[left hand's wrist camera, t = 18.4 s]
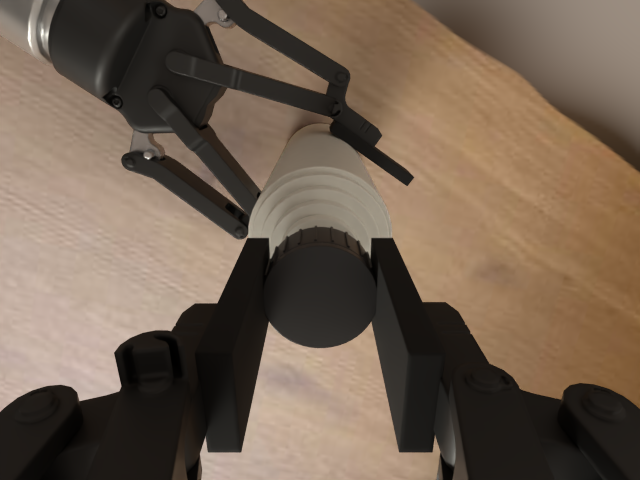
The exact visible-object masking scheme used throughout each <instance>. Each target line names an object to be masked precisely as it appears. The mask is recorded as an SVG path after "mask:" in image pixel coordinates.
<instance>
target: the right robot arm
mask: <svg viewBox="0 0 640 480" xmlns="http://www.w3.org/2000/svg"><path fill="white" fill-rule="evenodd" d="M212 24H219V25H220V26H222V27H224V28H226V29H231V28H233V27H235V26H236V25H238V26H239V27H240V28H242V29H243V30H245V31H246V32H248V33H249V34H251V35H252V36H254V37H255V38H257V39H259V40H260V41H262V42H264V43H265V44H267V45H269V46H270V47H272V48H274V49H275V50H277V51H279V52H280V53H282V54H283V55H285V56H287V57H288V58H290V59H292V60H293V61H295V62H297V63H298V64H300V65H302V66H303V67H305V68H307V69H308V70H310V71H311V72H313V73H315V74H316V75H318V76H320V77H321V78H323V79H325V80H326V81H328V82H329V85H328V89H327V93H326V94H322V93H319V92H316V91H312V90H309V89H306V88H302V87H299V86H296V85H292V84H289V83H285V82H282V81H279V80H275V79H272V78H269V77H265V76H262V75H259V74H255V73H252V72H249V71H246V70H242V69H239V68H236V67H232V66H229V65H226V64H224V63H223V61H222V58H221V56H220V54H219V51H218V49H217V46H216V44H215V41H214V39H213V36H212V34H211V31H210V29H209V26H210V25H212ZM0 35H1V36H2V37H4V38H5V39H7V40H8V41H10V42H11V43H13V44H14V45H16V46H17V47H19V48H21V49H22V50H24V51H25V52H27V53H28V54H30V55H31V56H33V57H34V58H36V59H37V60H39V61H41V62H42V63H44V64H46V65H51V66H54V68H55V69H56V71H57V72H58V73H60V74H61V75H63V76H64V77H66V78H67V79H69V80H70V81H72V82H74V83H75V84H77V85H78V86H80V87H81V88H83V89H84V90H86V91H88V92H89V93H91V94H92V95H94V96H95V97H97V98H98V99H100V100H102V101H103V102H105V103H106V104H108V105H110V106H111V107H113V108H115V109H116V110H118V111H119V112H120V113H121V114H122V115H123V116H124V117H125V119H126V120H127V122H128V124H129V125H130V126H131V127H132V128H133V129H134V131H133V136H132V142H131V147H130V152H129V153H126V154H124V155H123V157H122V165H123V166H124V167H125V168H126V169H127V170H129V171H132V172H135V173H138V174H141V175H144V176H147V177H150V178H153V179H155V180H156V181H157V182H159V183H160V184H162V185H163V186H164V187H166V188H167V189H168V190H170V191H171V192H173V193H174V194H175V195H177V196H178V197H179V198H181V199H182V200H184V201H185V202H186V203H188V204H189V205H190V206H192V207H193V208H195V209H196V210H197V211H199V212H200V213H201V214H203V215H204V216H206V217H207V218H208V219H210V220H211V221H212V222H214V223H215V224H217V225H218V226H219V227H221V228H222V229H223V230H225V231H226V232H228V233H229V234H230V235H232V236H233V237H234V238H236V239H244V238H245V237H246V236H247V235H248V226H249V221H250V216H251V213H252V210H253V208H254V206H255V204H256V202H257V200H258V198H259V196H260V194H261V190H260V189H259V188H258V187H257V186H256V184H255V183H254V182H253V181H252V179H251V178H250V177H249V176H248V175H247V173H246V172H245V171H244V170H243V168H242V167H241V166H240V165H239V164H238V162H237V161H236V160H235V159H234V157H233V156H232V155H231V154H230V153H229V151H228V150H227V149H226V148H225V146H224V145H223V144H222V143H221V142H220V140H219V139H218V138H217V136H216V133H215V132H214V130H213V129H212V128H211V126H210V125H209V124H208V121H209V119H210V117H211V116H212V112H213V108H214V104H215V103H216V102H217V101H218V100H219V99H220V98H221V97H222V96H223V94H224V93H225V91H226V89H227V88H231V89H235V90H239V91H243V92H246V93H250V94H253V95H256V96H260V97H263V98H267V99H270V100H273V101H277V102H280V103H284V104H287V105H291V106H294V107H297V108H301V109H304V110H308V111H311V112H315V113H318V114H321V115H325V116H328V117H330V118H332V119H333V122H332V123H331V125H330V126H329V129H330V132H332V133H333V134H334V135H336V136H337V137H339V138H340V139H341V140H343V141H344V142H346V143H347V144H349V145H350V146H351V147H353V148H354V149H356V150H357V151H358V152H360V153H361V154H363V155H364V156H365V157H367V158H368V159H370V160H371V161H372V162H374V163H375V164H377V165H378V166H379V167H381V168H382V169H384V170H385V171H387V172H388V173H389V174H391V175H392V176H394V177H395V178H396V179H398V180H399V181H401V182H402V183H403V184H405V185H406V186H408V185H409V183H410V182H411V181H412V179H413V178H414V177H413V176H412V175H411V174H410V173H409V172H408V171H407V170H406V169H405V168H404V167H402V166H401V165H400V164H398V163H397V162H395V161H394V160H393V159H391V158H390V157H388V156H387V155H386V154H384V153H383V152H381V151H380V150H379V149H377V148H376V147H375V145H376V144H377V142H378V141H379V139H380V138H381V137H382V135H381V133H380V131H379V130H378V128H376V127H375V126H374V125H372V124H371V123H370V122H368V121H367V120H366V119H364V118H363V117H362V116H360V115H359V114H357V113H356V112H355V111H353V110H352V109H351V108H349V107H348V106H347V104H346V101H345V95H346V91H347V87H348V83H349V81H350V73H349V71H348V70H347V69H346V68H345V67H343V66H341V65H340V64H338V63H337V62H335V61H333V60H332V59H330V58H328V57H327V56H325V55H324V54H322V53H320V52H319V51H317V50H316V49H314V48H312V47H311V46H309V45H308V44H306V43H304V42H303V41H301V40H299V39H298V38H296V37H295V36H293V35H291V34H290V33H288V32H287V31H285V30H283V29H282V28H280V27H278V26H277V25H275V24H274V23H272V22H270V21H269V20H267V19H266V18H264V17H262V16H261V15H259V14H257V13H256V12H254V11H253V10H251V9H249V8H248V6H247V5H246V4H245V3H244V1H243V0H204V1H203V2H202V3H201V4H200V5H199V6H198V7H197V8H196V9H195V10H194V11H191V10H188V9H180V8H176V7H174V6H172V5H171V4H169V3H168V2H166V1H165V0H0ZM153 133H176V134H177V136H178V137H179V138H180V139H181V140H182V142H183V143H184V144H185V145H186V146H187V147H188V148H189V149H190V150H191V151H193V152H195V153H196V154H197V155H198V157H199V158H200V159H201V160H202V161H203V162H204V164H205V165H206V166H207V167H208V168H209V170H210V171H211V172H212V173H213V174H214V175H215V177H216V178H217V179H218V180H219V181H220V183H221V184H222V185H223V186H224V187H225V188H226V190H227V191H228V192H229V193H230V194H231V195H232V197H233V198H234V199H235V200H236V201H237V203H238V204H239V205H240V206H241V207H242V208H243V210H244V211H243V210H242V209H241V208H239V207H238V206H237V205H235V204H234V203H233V202H231V201H230V200H229V199H227V198H226V197H225V196H223V195H222V194H221V193H219V192H218V191H217V190H215V189H214V188H213V187H211V186H210V185H209V184H207V183H206V182H205V181H203V180H202V179H201V178H199V177H198V176H197V175H195V174H194V173H193V172H191V171H190V170H189V169H187V168H186V167H185V166H183V165H182V164H181V163H179V162H178V161H176V160H175V159H173V158H171V157H169V156H167V155H165V150H164V148H163V147H162V146H161V145H160V144H158V143H157V142H156V141H155V140H154V137H153Z"/></svg>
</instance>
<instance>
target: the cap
mask: <svg viewBox="0 0 640 480" xmlns="http://www.w3.org/2000/svg"><path fill="white" fill-rule="evenodd" d="M372 269H373V267H372V263H371V260H370V256H369V253H368V251H367V252H366V251H365V249H364V248H363V247H362V245H361V244H360V241H359V240H358V241H357V240H356V239H354V238H353V237H352V236H350V235H349V234H348V232H343V231H340V230H337V229H334V228H333V227H330V228H329V227H317V226H315V227H312V228H307V229H303V230H302V229H299V231H298V232H295V233H294V234H292V235H290V236H289V237H288V236H286V238H285V240H284V241H283V242H282V243H280V245H279V246H276V247H275V250H274V253H273V255H272V258H271V259H270V258H269V261H268V265H267V268H266V272H265V277H266V278H265V282H264V286H263V293H264V310H265V314H266V316H267V318H268V320H269V322H270V323H271V325H272V326H273V327H274V328H275V329H276V330H277V332H278V333H280V334H281V335H282V336H283V337H285V338H287V339H288V340H290V341H292V342H294V343H296V344H299V345H302V346H306V347H312V348H328V347H334V346H338V345H341V344H344V343H346V342H348V341H350V340H352V339H354V338H355V337H357V336H358V335H359V334H361V333H362V332H363V331H364V330H365V329H366V328H367V327H368V325H369V324H370V322H371V321H372V319H373V317H374V315H375V312H376V299H377V284H376V280H375V277H374V273H373V270H372Z"/></svg>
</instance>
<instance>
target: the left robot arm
mask: <svg viewBox="0 0 640 480" xmlns="http://www.w3.org/2000/svg"><path fill="white" fill-rule="evenodd" d="M269 258H270V247H269V238H247V240H246V243H245V245H244V247H243V249H242V251H241V253H240V256H239V258H238V260H237V262H236V264H235V266H234V269H233V271H232V273H231V275H230V277H229V280H228V282H227V284H226V286H225V288H224V290H223V293H222V295H221V297H220V299H219V301H218V303H217V304H194V305H192V306H191V307H190V308H188V309H187V310H186V311H184V312H183V313H182V314H181V316H180V318H179V319H178V321H177V323H176V326H174V328H173V329H172V331H157V330H156V331H151V332H146V333H142V334H139V335H137V336H134V337H132V338H130V339H128V340H127V341H125V342H124V343H122V344H121V345H120V346H119V347H118V349H117V350H116V351H115V352H114V354H115V359H116V363H117V368H118V372H119V377H120V381H121V386H122V387H121V389H120V391H119V392H116V393H113V394H110V395H106V396H101V397H97V398H93V399H88V400H84V401H79V398H78V394H77V392H76V391H75V390H74V389H73V388H72V387H68V386H64V385H54V386H46V387H43V388H39V389H36V390H33V391H31V392H29V393H27V394H25V395H23V396H21V397H19V398H17V399H16V400H14V401H13V402H12V403H10V404H9V405H8V406H6V407H5V408H4V409H3V410H2V411H1V412H0V480H201V475H202V466H201V459H200V451H201V448H202V445H203V442H204V439H205V436H206V442H207V449H208V452H241V451H242V446H243V441H244V436H245V432H246V427H247V422H248V417H249V413H250V408H251V403H252V399H253V394H254V389H255V384H256V380H257V375H258V370H259V366H260V361H261V356H262V351H263V347H264V342H265V337H266V333H267V328H268V323H269V320H268V318H267V316H266V314H265V310H264V293H263V286H264V282H265V278H266V277H265V272H266V268H267V265H268V261H269ZM370 260H371V263H372V267H373V269H372V270H373V273H374V277H375V280H376V284H377V299H376V312H375V315H374V317H373V319H372V326H373V331H374V336H375V340H376V345H377V350H378V354H379V359H380V364H381V369H382V373H383V378H384V383H385V387H386V392H387V397H388V402H389V406H390V411H391V416H392V420H393V425H394V430H395V435H396V439H397V444H398V449H399V452H433V444H434V437H435V436H436V439H437V442H438V445H439V448H440V451H441V453H440V459H439V466H438V473H437V480H640V409H639V408H638V407H637V406H636V405H634V404H633V403H632V402H630V401H629V400H628V399H626V398H625V397H624V396H622V395H620V394H618V393H616V392H614V391H612V390H610V389H607V388H604V387H601V386H597V385H594V384H583V383H579V384H574V385H570V386H569V387H568V388H566V389H565V390H564V393H563V396H562V400H560V399H555V398H551V397H546V396H542V395H537V394H533V393H530V392H526V391H523V390H521V389H519V386H518V385H517V383H516V382H515V380H514V379H513V377H512V376H510V375H509V374H508V373H506V372H505V371H504V370H502V369H500V368H498V367H496V366H493V365H491V364H489V362H488V361H487V359H486V357H485V356H484V354H483V352H482V351H481V349H480V347H479V346H478V344H477V342H476V341H475V339H474V337H473V335H472V334H470V330H469V329H468V327H467V325H465V322H464V320H463V319H462V317H461V315H460V314H459V312H458V311H457V310H455V309H454V308H453V307H451V306H450V305H449V304H447V303H446V302H422V300H421V298H420V296H419V294H418V292H417V290H416V287H415V285H414V283H413V281H412V279H411V276H410V274H409V272H408V270H407V268H406V266H405V263H404V261H403V259H402V257H401V255H400V253H399V250H398V248H397V246H396V244H395V242H394V240H393V238H371V255H370Z"/></svg>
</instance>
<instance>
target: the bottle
mask: <svg viewBox="0 0 640 480" xmlns="http://www.w3.org/2000/svg"><path fill="white" fill-rule="evenodd" d="M329 126H330V125H329V124H323V123H316V124H311V125H308V126H305V127H303V128H301V129H300V130H298V131H297V132H296V133H295V134H294V135H293V136H292V137H291V138H290V140H289V141H288V143H287V145H286V147H285V149H284V151H283V153H282V154H281V156H280V158H279V160H278V162H277V164H276V166H275V168H274V170H273V172H272V173H271V175H270V177H269V179H268V181H267V183H266V185H265V187H264V189H263V190H262V192H261V194H260V196H259V198H258V200H257V202H256V204H255V206H254V208H253V210H252V213H251V216H250V221H249V226H248V238H269V247H270V259H271V258H272V255H273V253H274V250H275V247H276V246H279V245H280V243H282V242H283V241H284V240H285V238H286V236H288V237H289V236H290V235H292V234H294V233H295V232H298V231H299V229H302V230H303V229H307V228H312V227H315V226H317V227H329V228H330V227H333V228H334V229H337V230H340V231H343V232H348V234H349V235H350V236H352V237H353V238H354V239H356V240H357V241H358V240H359V241H360V244H361V245H362V247H363V248H364V249H365V251H366V252H367V251H368V253H369V256H370V255H371V238H392V225H391V220H390V216H389V212H388V210H387V207H386V205H385V203H384V201H383V199H382V198H381V196H380V194H379V192H378V190H377V188H376V186H375V184H374V182H373V181H372V179H371V177H370V175H369V173H368V171H367V169H366V167H365V165H364V164H363V162H362V160H361V158H360V156H359V154H358V152H357V150H356V149H354V148H353V147H351V146H350V145H349V144H347V143H346V142H344V141H343V140H341V139H340V138H339V137H337V136H336V135H334V134H333V133H332V132H330V129H329Z"/></svg>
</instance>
